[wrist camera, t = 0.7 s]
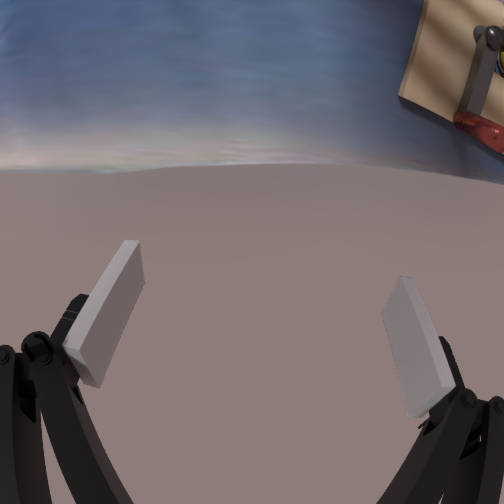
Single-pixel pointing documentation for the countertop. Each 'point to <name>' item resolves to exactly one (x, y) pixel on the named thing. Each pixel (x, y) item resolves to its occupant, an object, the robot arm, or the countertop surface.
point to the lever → (481, 91)
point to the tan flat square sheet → (451, 56)
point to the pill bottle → (501, 61)
